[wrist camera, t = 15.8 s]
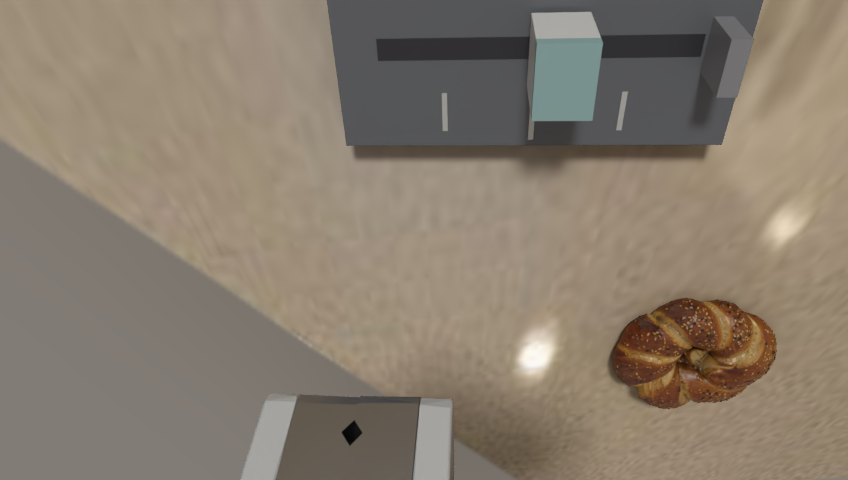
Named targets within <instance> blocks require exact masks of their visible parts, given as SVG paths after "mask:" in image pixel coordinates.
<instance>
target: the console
mask: <svg viewBox="0 0 848 480" xmlns="http://www.w3.org/2000/svg"><path fill="white" fill-rule="evenodd" d="M762 3H763V0H327V4H328V12H329V19H330V27H331V34H332V41H333V49H334V56H335V63H336V71H337V78H338V86H339V93H340V100H341V108H342V115H343V122H344V130H345V137H346V145H347V146H383V145H722V142H723V139H724V135H725V132H726V128H727V125H728V121H729V118H730V114H731V111H732V107H733V104H734V100H735V98H737V96H738V92H739V89H740V85H741V82H742V78H743V75H744V71H745V68H746V64H747V61H748V58H749V54H750V51H751V47H752V44H753V40H754V39H753V34H754V31H755V27H756V24H757V20H758V17H759V13H760V10H761V6H762ZM553 12H592V15H593V18H594V20H595V23H596V26H597V28H598V31H599V33H600V36H601V39H602V41H603V47H602V54H601V62H600V69H599V76H598V83H597V91H596V98H595V105H594V112H593V120H592V121H531V114H530V106H529V99H528V91H527V75H528V59H529V43H530V27H531V13H553Z"/></svg>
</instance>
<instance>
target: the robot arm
mask: <svg viewBox="0 0 848 480" xmlns="http://www.w3.org/2000/svg"><path fill="white" fill-rule="evenodd" d="M240 480H454V427H453V399H452V398H421V397H376V396H373V397H371V396H361V397H342V396H341V397H340V396H319V395H302V394H273V393H270V394H269V396H268V398H267V399H266V401H265V402H264V404H263V407H262V411H261V414H260V417H259V420H258V423H257V426H256V430H255V433H254V436H253V439H252V442H251V445H250V448H249V451H248V455H247V458H246V461H245V464H244V467H243V471H242V474H241V477H240Z"/></svg>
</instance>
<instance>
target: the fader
mask: <svg viewBox="0 0 848 480" xmlns="http://www.w3.org/2000/svg"><path fill="white" fill-rule="evenodd" d="M602 47H603V41H602V39H601V36H600V33H599V31H598V28H597V26H596V23H595V20H594V18H593V15H592V12H553V13H531V27H530V43H529V59H528V75H527V91H528V99H529V106H530V114H531V121H592V120H593V112H594V105H595V98H596V91H597V83H598V76H599V69H600V62H601V54H602Z"/></svg>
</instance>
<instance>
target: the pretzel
mask: <svg viewBox="0 0 848 480" xmlns="http://www.w3.org/2000/svg"><path fill="white" fill-rule="evenodd" d="M776 345H777V343H776V338H775V334H773V331H772V329H771V328H770V327H769V326H768V325H767V324H766V323H765V322H764V321H763V320H762V319H761V318H759V317H758V316H755V315H753V314H750V313H746V312H743V311H742V310H741V309H740V308H739V307H738V306H737V305H735V304H734V303H729V302H727V301H719V300H714V301H706V302H700V301H697V300H694V299H688V298H682V299H678V300H674V301H671V302H669V303H666V304H665V305H663V306H660V307H659V309H657V310H655V311H654V312H653V313H652V314H650V315H649V314H645V315H642V316H639V317H638V318H637V319H635V320H634V321H633V322H631V323H630V324H629V325H628V326H627V327H626V329H625V330H624V332H623V333H622V335H621V338H620V340H619V342H618V344H617V346H616V347H615V350H614V354H613V368H614V371H615V374H616V375H617V377H618V378H619V379H620V380H621V381H622V382H624V383H625V384H626V385H628V386H635V387H636V388H637V389H638V392H639V396H638V397H639V398H640V399H643V400H644V401H645V402H647V403H648V404H649V405H652V406H656V407H658V408H662V409H666V408H667V409H670V408H677V407H679V406H681V405H684V404H686V403H687V402H688V401H689V400H693V401H694V402H697V403H700V402H704V403H705V402H713V403H715V402H721V401H724V400H726V401H727V400H728V399H730V398H733V397H735V396H736V395H738V394H739V393H741V392H742V391H743V390H744V389H745V388H746V387H747V386H748V385H750V384H752V383H753V382H755V381H756V380H757V379H759V378H761V377H762V376H763V375H765V374H766V373H767V371H768V370H769V369H770V367H771V366H772V365H773V362H774V360H775V356H776V352H777V350H776Z"/></svg>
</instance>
